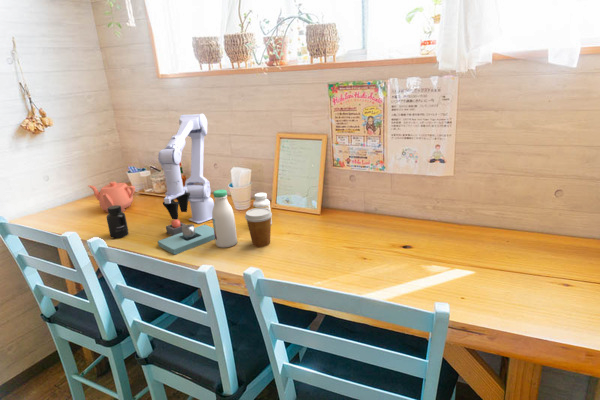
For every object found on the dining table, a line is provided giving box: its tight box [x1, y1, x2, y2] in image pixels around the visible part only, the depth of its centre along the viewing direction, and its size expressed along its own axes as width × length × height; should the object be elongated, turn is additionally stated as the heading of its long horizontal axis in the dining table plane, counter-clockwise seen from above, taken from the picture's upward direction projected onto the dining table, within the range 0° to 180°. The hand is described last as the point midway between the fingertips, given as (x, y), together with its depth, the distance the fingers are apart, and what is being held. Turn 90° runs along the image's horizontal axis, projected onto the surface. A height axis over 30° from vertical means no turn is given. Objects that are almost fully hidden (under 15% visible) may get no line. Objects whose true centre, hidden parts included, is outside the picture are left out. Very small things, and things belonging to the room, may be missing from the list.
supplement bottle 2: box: [252, 192, 273, 225], centre depth 161 cm, size 7×7×13 cm
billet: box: [182, 223, 196, 241], centre depth 151 cm, size 4×4×6 cm
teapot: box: [87, 181, 136, 214], centre depth 193 cm, size 16×17×14 cm
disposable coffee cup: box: [244, 207, 273, 248], centre depth 144 cm, size 10×10×12 cm
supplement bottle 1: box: [106, 205, 129, 239], centre depth 160 cm, size 7×7×12 cm
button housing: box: [165, 221, 187, 237], centre depth 160 cm, size 6×6×3 cm
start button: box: [170, 218, 181, 228], centre depth 160 cm, size 3×3×4 cm
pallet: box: [157, 224, 215, 256], centre depth 152 cm, size 20×12×2 cm, turn 135°
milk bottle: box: [211, 189, 238, 249], centre depth 144 cm, size 8×8×20 cm
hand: (179, 215), depth 154 cm, fingers open, 7 cm apart
